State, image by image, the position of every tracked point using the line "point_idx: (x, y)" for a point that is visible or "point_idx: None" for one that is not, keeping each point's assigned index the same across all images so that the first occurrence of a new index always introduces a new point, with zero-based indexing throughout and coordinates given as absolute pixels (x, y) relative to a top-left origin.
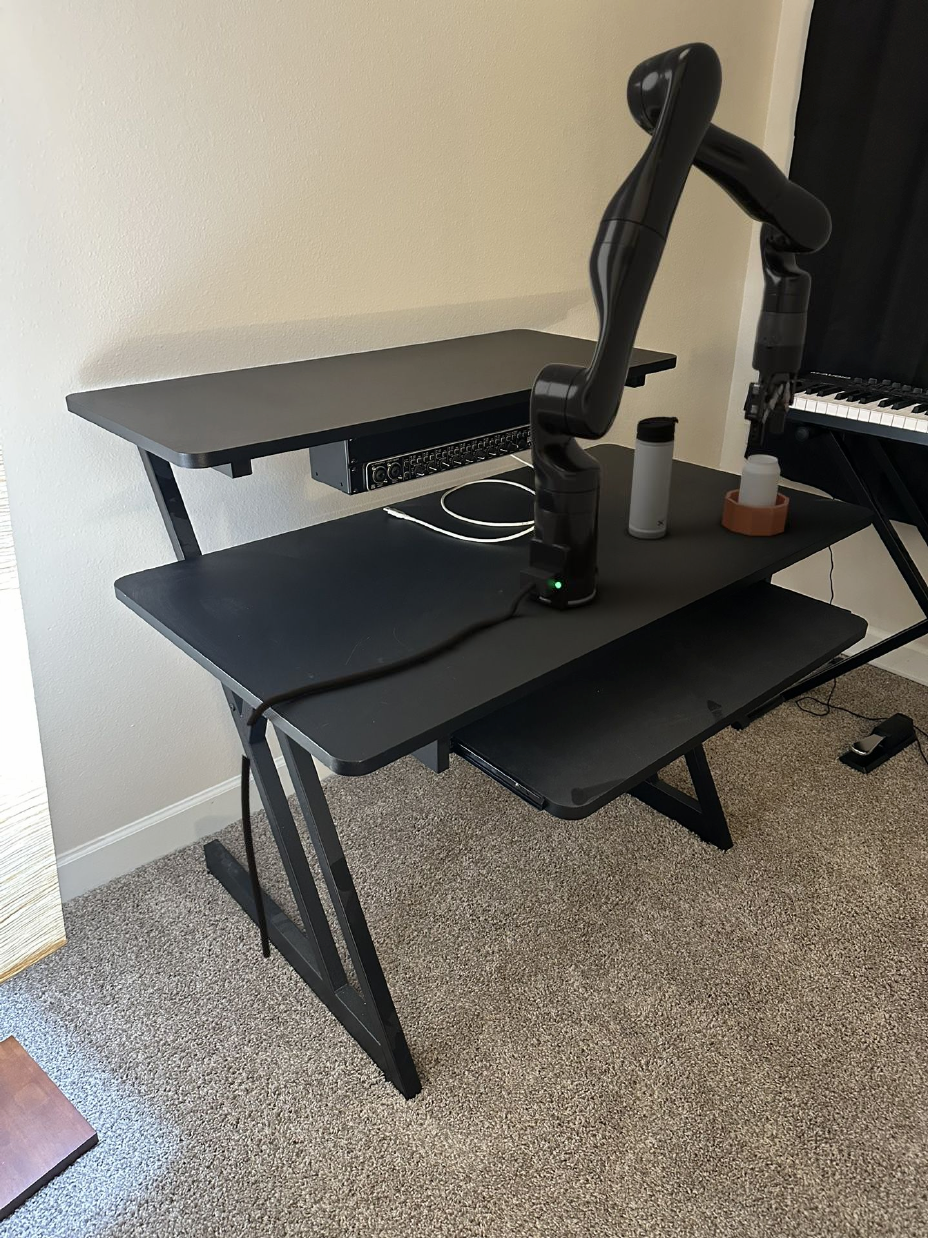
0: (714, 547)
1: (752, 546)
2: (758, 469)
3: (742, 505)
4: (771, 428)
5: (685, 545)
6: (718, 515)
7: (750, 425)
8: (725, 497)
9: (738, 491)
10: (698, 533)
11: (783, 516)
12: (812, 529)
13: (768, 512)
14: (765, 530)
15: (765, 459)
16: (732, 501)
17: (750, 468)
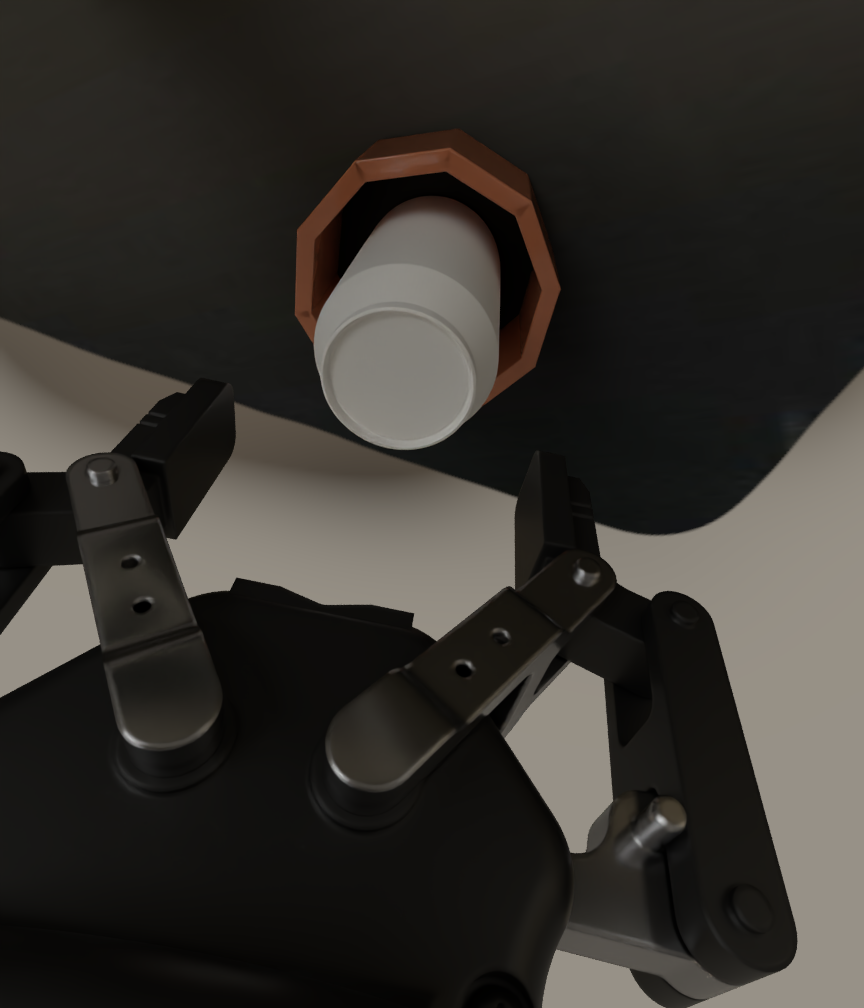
0: (139, 183)
1: (238, 303)
2: (319, 366)
3: (296, 265)
4: (532, 471)
5: (71, 58)
6: (486, 87)
7: (146, 440)
8: (355, 161)
9: (487, 197)
10: (225, 68)
11: None
12: (481, 436)
13: None
14: None
15: (414, 392)
16: (319, 211)
17: (324, 324)
